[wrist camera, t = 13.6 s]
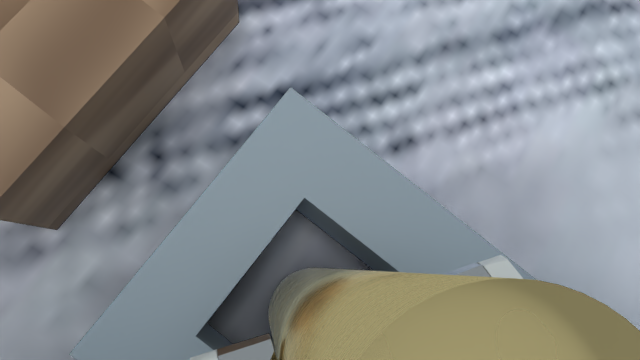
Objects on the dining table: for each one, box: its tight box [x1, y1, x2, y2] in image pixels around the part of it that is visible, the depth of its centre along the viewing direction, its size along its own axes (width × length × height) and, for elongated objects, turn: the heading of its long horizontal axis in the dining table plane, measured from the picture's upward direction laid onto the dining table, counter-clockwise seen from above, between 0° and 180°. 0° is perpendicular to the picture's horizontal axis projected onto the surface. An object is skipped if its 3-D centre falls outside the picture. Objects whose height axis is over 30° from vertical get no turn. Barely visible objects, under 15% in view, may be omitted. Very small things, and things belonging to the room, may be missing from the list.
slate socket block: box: [69, 87, 536, 360], centre depth 20 cm, size 11×11×4 cm
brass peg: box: [268, 268, 640, 360], centre depth 12 cm, size 3×3×16 cm
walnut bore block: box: [0, 0, 239, 230], centre depth 20 cm, size 11×11×6 cm
